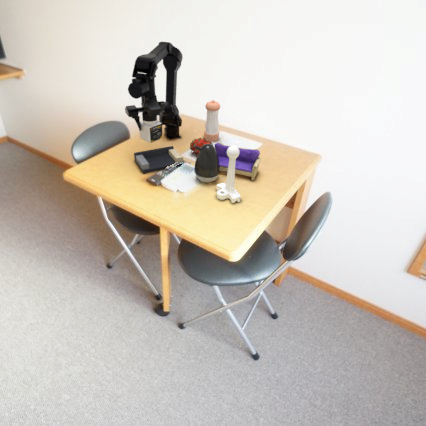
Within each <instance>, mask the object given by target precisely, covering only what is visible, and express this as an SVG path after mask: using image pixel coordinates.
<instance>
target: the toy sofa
mask: <svg viewBox="0 0 426 426" xmlns="http://www.w3.org/2000/svg"><path fill="white" fill-rule="evenodd" d="M213 146H214V148H215V149H216V151H217V154H218V158H219V163H220V171H223V172H228V165H229V157H228V155H227V149H228V148H229V147H230V146H231V145H227V144H224V143H222V142H220V141H216V143H214V144H213ZM237 147H238V148H239V151H240V153H239V156H238V157H237V158H236V163H235V175H241V176H246V177H251V181H254V180H255V178H256V176H257V174H258V172H259V165H260V163H261V160H262V158H261V157H260V155H261V151H260V149H258V148H245V147H239V146H237Z"/></svg>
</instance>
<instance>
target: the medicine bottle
mask: <svg viewBox="0 0 426 426" xmlns="http://www.w3.org/2000/svg"><path fill="white" fill-rule="evenodd" d="M141 116H142V121H140V125H141V131H140V130H139V129H138V132H139V139H141V140H143V141H145V142H147V143H150V144H153V143H154V142H157V141H159V140H162V139H163V138H164V136H163V135H164V134H163V125H162V123H161V122H159V120H158V115H154V116H149V115H148V112H141Z"/></svg>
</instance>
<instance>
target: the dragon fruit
mask: <svg viewBox="0 0 426 426" xmlns="http://www.w3.org/2000/svg"><path fill="white" fill-rule="evenodd" d="M205 144H211V145H213V146H214V144H213V142H210V141H206V138H204V137H203V138H201V137H198V138H193V140H192V141H191V142H190V143H189V149H190V153H191V154H195V156H197V155H198V153H199V150H197V149H195V148H194V146H195V145H196V146H199V147H202V146H203V145H205Z"/></svg>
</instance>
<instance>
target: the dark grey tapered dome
mask: <svg viewBox="0 0 426 426" xmlns="http://www.w3.org/2000/svg"><path fill="white" fill-rule="evenodd" d="M194 148H195V149H197V150H199V153H198V155H196V158H195V162H194V171H193V172H194V174H195V177H196V178H197V179H198V180H199V181H200V182H202V183H212V182H214V181H216V180H217V179H218V178H219V177H218V176H219V175H220V173H221V170H220V163H219V158H218V154H217V151H216V149H215V145H214V144H213V145H211V144H205V145H203V146H202V147H199V146H196V145H195V146H194Z"/></svg>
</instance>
